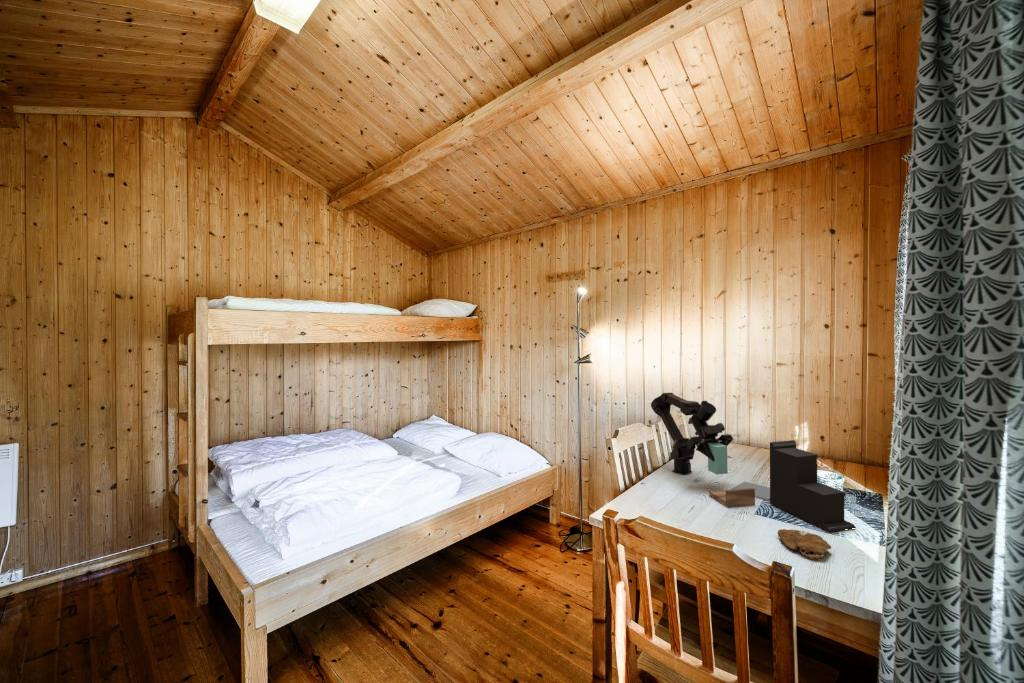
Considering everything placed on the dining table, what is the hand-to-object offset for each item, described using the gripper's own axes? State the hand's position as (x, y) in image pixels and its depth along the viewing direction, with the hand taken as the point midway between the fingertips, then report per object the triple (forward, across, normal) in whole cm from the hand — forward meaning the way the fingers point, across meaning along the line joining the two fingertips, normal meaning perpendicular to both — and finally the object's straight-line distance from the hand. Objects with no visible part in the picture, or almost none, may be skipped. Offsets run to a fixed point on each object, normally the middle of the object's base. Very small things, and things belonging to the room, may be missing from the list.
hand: (719, 460), depth 166 cm
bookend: (+28, +14, -10) cm, 33 cm away
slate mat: (+11, +14, +7) cm, 19 cm away
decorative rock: (+40, -6, -22) cm, 46 cm away
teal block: (+3, 0, +5) cm, 5 cm away
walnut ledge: (+15, -2, +3) cm, 16 cm away
